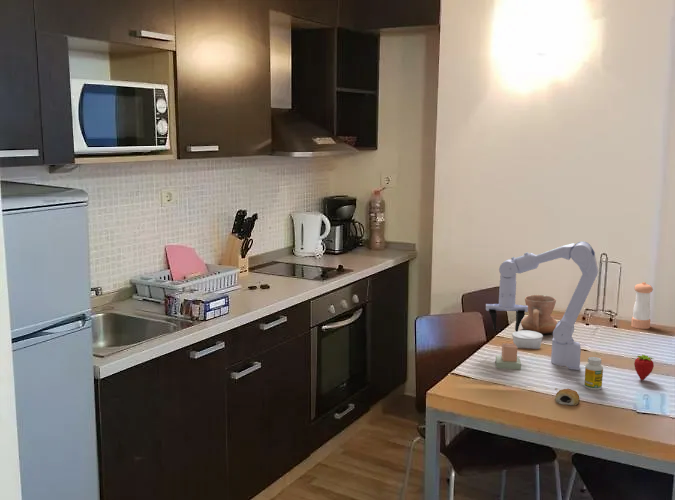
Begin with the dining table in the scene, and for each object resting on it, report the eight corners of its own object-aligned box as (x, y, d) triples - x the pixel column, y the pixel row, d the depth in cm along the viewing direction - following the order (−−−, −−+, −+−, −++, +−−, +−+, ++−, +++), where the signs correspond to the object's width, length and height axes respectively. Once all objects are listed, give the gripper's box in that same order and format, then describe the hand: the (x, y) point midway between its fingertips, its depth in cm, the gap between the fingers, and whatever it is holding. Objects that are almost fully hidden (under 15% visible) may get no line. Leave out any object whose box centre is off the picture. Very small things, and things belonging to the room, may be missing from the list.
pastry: (559, 393, 219) (560, 382, 218) (582, 397, 215) (583, 386, 215) (553, 403, 210) (554, 391, 210) (577, 408, 207) (578, 396, 207)
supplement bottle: (591, 383, 227) (593, 355, 226) (605, 388, 223) (607, 359, 221) (580, 386, 224) (582, 357, 223) (594, 391, 220) (596, 362, 218)
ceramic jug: (526, 323, 297) (528, 291, 294) (561, 328, 289) (563, 295, 287) (515, 335, 281) (516, 301, 279) (551, 340, 274) (553, 305, 271)
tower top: (519, 361, 244) (519, 356, 244) (520, 369, 236) (521, 363, 236) (495, 360, 245) (495, 355, 245) (496, 368, 238) (496, 362, 237)
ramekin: (509, 350, 261) (510, 336, 260) (513, 341, 272) (514, 328, 271) (540, 353, 257) (541, 339, 256) (543, 345, 268) (544, 332, 267)
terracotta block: (514, 357, 243) (515, 343, 242) (516, 361, 238) (517, 347, 237) (501, 357, 243) (502, 343, 242) (503, 361, 239) (504, 347, 238)
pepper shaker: (629, 323, 298) (632, 280, 294) (646, 324, 297) (650, 280, 293) (633, 328, 290) (637, 283, 287) (652, 329, 290) (655, 284, 286)
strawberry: (651, 377, 233) (653, 348, 231) (653, 385, 226) (656, 355, 224) (632, 375, 235) (634, 346, 233) (633, 382, 228) (636, 353, 226)
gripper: (487, 295, 244) (486, 332, 247) (530, 296, 243) (527, 334, 245) (485, 290, 251) (484, 327, 254) (527, 292, 250) (525, 328, 252)
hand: (505, 330), depth 250 cm, fingers open, 7 cm apart
